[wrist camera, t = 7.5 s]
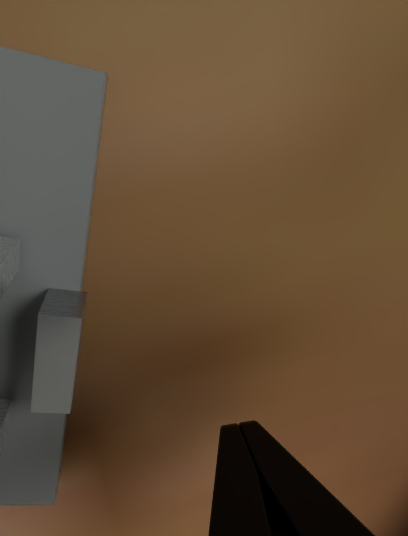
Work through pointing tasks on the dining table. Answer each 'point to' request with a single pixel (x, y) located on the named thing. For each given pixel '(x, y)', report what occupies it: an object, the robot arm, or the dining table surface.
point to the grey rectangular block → (3, 270)
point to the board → (41, 241)
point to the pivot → (57, 350)
